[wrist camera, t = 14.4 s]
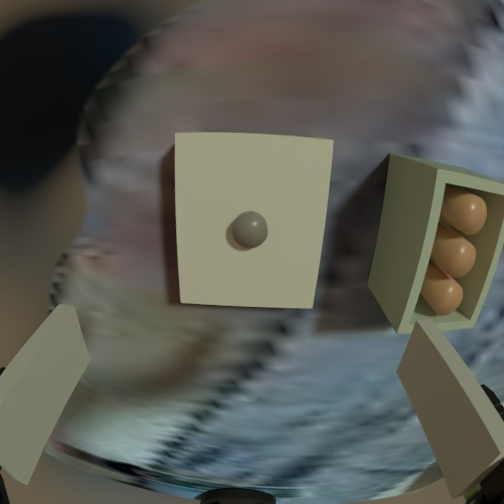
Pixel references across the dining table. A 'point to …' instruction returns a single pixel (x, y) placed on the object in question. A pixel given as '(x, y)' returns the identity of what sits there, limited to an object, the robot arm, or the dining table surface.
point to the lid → (250, 217)
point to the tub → (436, 243)
